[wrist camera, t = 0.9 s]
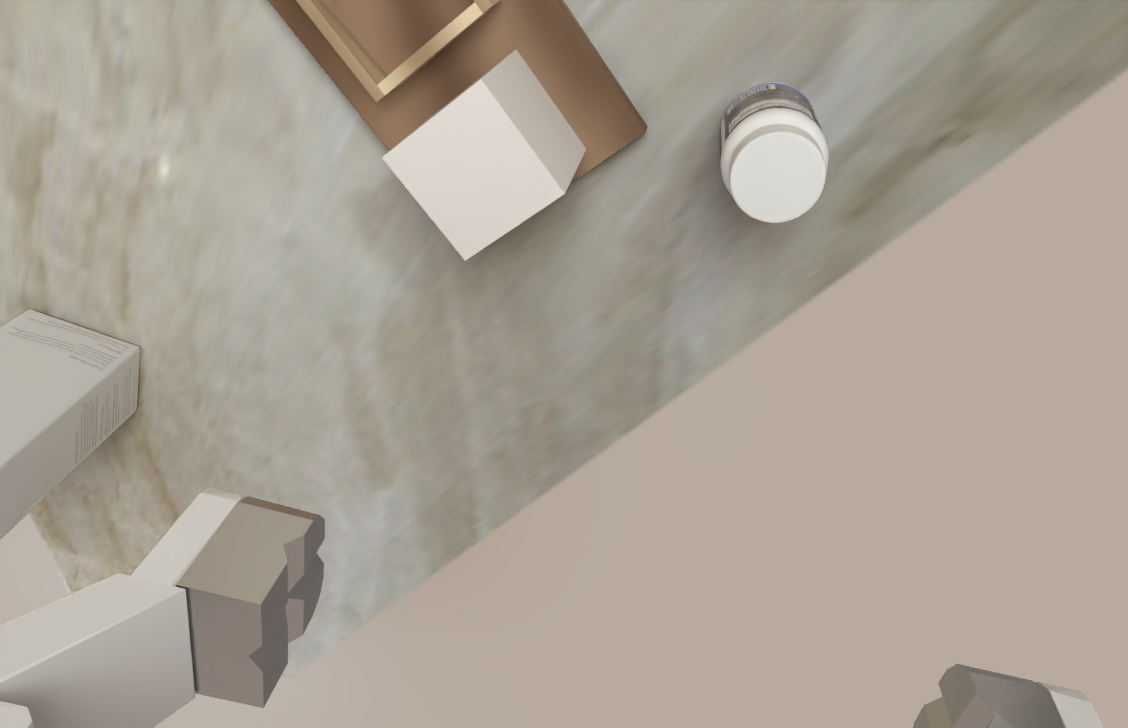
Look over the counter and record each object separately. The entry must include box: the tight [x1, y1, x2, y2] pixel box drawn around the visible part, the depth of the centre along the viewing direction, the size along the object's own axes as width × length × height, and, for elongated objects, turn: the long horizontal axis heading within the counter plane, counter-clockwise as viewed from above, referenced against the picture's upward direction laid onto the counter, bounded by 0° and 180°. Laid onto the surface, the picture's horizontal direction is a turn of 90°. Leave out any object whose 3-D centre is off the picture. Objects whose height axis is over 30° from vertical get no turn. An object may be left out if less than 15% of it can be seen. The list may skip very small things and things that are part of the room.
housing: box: [382, 50, 586, 261], centre depth 39 cm, size 6×6×7 cm
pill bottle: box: [720, 82, 829, 223], centre depth 38 cm, size 5×5×8 cm
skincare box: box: [0, 309, 140, 539], centre depth 50 cm, size 8×6×15 cm
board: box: [269, 0, 647, 183], centre depth 40 cm, size 12×17×5 cm
